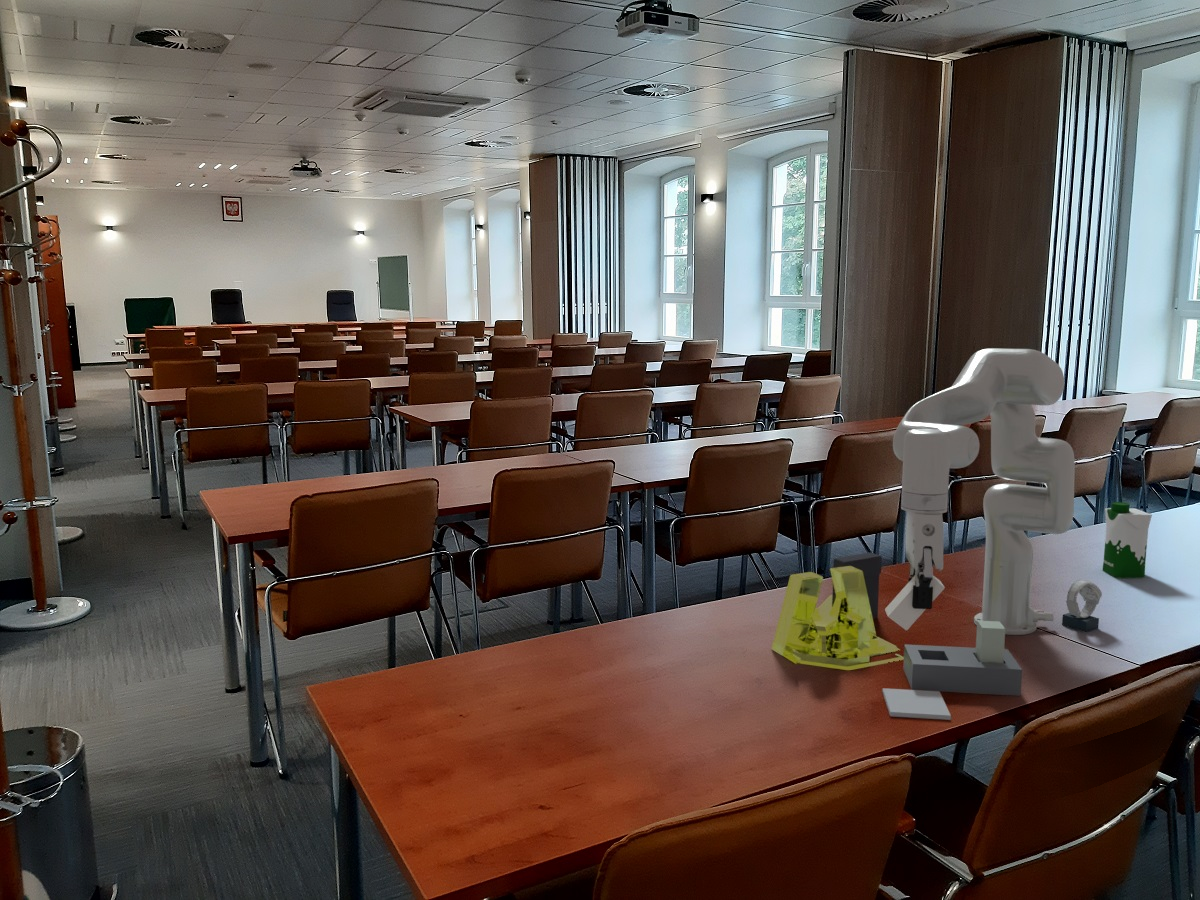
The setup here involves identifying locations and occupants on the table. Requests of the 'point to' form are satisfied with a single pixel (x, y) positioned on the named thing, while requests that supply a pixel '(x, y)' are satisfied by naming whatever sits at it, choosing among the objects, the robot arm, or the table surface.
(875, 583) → the black block
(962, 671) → the plate
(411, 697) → the table surface
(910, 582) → the white plug
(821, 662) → the crystal
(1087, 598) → the watch
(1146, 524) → the milk carton
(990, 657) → the sage plug
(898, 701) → the mat
